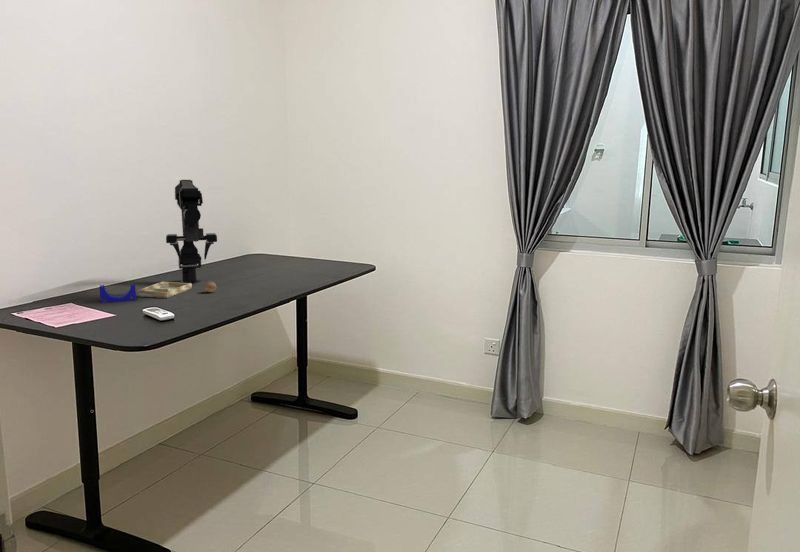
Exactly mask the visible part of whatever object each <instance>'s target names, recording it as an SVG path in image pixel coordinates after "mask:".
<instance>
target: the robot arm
mask: <svg viewBox="0 0 800 552" xmlns="http://www.w3.org/2000/svg"><path fill="white" fill-rule="evenodd" d="M174 200H175V201H176V204H177V206H178V207H179V209H180V210H181V211H180V213H181V226H182V235H178V234H177V233H173V234H172V233H169V234H166V236H165V242H166V244H169V246H172V247H173V248H174V250H175V253H176V254H177V256H178V257H177V258H178V269H179V270H182V273H181V274H182V275H181V276H182V280H180V281H179V282H178V283H191V284H196V283H197V282H201V279H198V272H197V271H198V270H197V269H201V268H202V256H201V254H200V253H199V251H198V248H197V247H196V245H195V244H194V242H199V241H204V242H205V245H204V257H203V258H204V261H206V259H207V257H208V253H209V250H210V247H211V245H214V244H215V243H216V242H218V236H217V234H216V233H215V232H213V233H212V232H209V233H207V232H206V233H205V235H204V228H203V227H202V228H200V219H201V216H202V215H201V211H200V210H199V208H198V207H202V204H204V203H203V202H204V200H203V193H202V192H201V190H199V188H198V186H196V185H194V183H193V180H191V179H181V180H179V183H178V184H177V185H176V186H175V187H174ZM182 241H183V242H182ZM179 242H182V247H181V249H180V246H179Z"/></svg>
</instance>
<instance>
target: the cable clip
mask: <svg viewBox="0 0 800 552" xmlns="http://www.w3.org/2000/svg"><path fill="white" fill-rule="evenodd" d="M98 288H99V300H100V301H99V302H100V304H103V303H105V304H106V303H117V302H135V301H137V296H136V291H137V290H136V283H130V287H129V290H128V291H127V292H126V293H123V294H121V295H118V296H117V295H116V296H115V295H112V294H110V293H109V292H108V290H107V289H106V286H105V285H104V284H103V285H101V284H100V285H99V287H98ZM104 299H105V300H104Z"/></svg>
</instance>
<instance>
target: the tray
mask: <svg viewBox="0 0 800 552" xmlns="http://www.w3.org/2000/svg"><path fill="white" fill-rule="evenodd" d="M161 282H162V281H161ZM161 282H157V283H154V284H150V285H149V286H145V287H143V288H140V289H137V290H136V297H141V298H154V297H156V299H170V298H172V297H174V295H175V296H177V295H180V294H181V293H184V292H188V291H190V290H192V287H193V286H192V285H193V283H180V282H178V281H176V282H175V281H173V282H172V281H167V282H168V287H169V289H168V291H167V292H160V287H161ZM169 297H170V298H169Z"/></svg>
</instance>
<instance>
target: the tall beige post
mask: <svg viewBox="0 0 800 552" xmlns="http://www.w3.org/2000/svg"><path fill="white" fill-rule="evenodd" d="M168 282H169V281H161V287H160V292H167V291H168V289H169V287H168Z"/></svg>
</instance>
